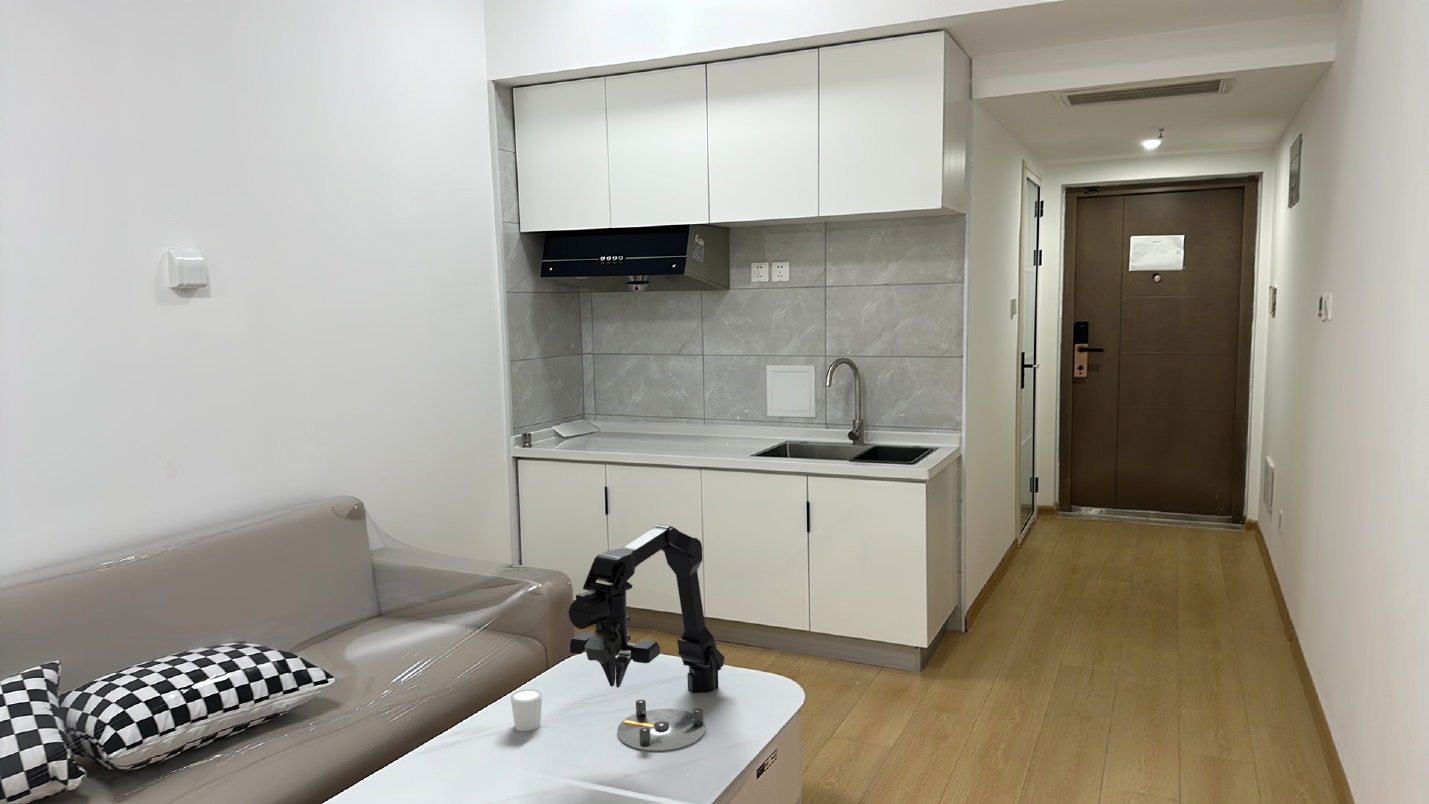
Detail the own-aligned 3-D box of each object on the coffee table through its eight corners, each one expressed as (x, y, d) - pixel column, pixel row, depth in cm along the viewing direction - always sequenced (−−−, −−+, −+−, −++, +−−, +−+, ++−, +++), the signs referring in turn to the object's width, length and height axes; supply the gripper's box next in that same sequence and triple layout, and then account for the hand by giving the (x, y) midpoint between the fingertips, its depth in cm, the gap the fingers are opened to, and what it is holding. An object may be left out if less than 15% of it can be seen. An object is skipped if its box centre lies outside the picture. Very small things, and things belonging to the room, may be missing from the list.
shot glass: (516, 735, 204) (515, 704, 203) (508, 722, 210) (506, 692, 209) (547, 727, 207) (545, 697, 206) (538, 715, 213) (536, 686, 212)
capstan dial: (718, 718, 208) (718, 702, 208) (684, 757, 191) (683, 740, 190) (641, 705, 215) (641, 690, 215) (601, 742, 198) (600, 726, 197)
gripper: (553, 622, 191) (556, 695, 193) (635, 632, 184) (637, 708, 186) (581, 605, 201) (583, 675, 203) (660, 614, 194) (662, 686, 196)
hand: (615, 686), depth 197 cm, fingers closed
